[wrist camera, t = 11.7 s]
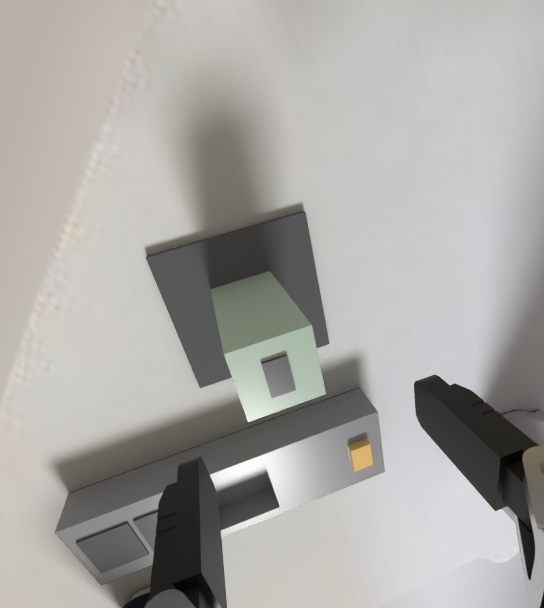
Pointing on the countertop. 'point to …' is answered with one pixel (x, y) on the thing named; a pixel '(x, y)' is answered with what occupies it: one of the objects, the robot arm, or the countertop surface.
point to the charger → (267, 345)
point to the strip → (228, 481)
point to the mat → (229, 268)
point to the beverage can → (139, 599)
